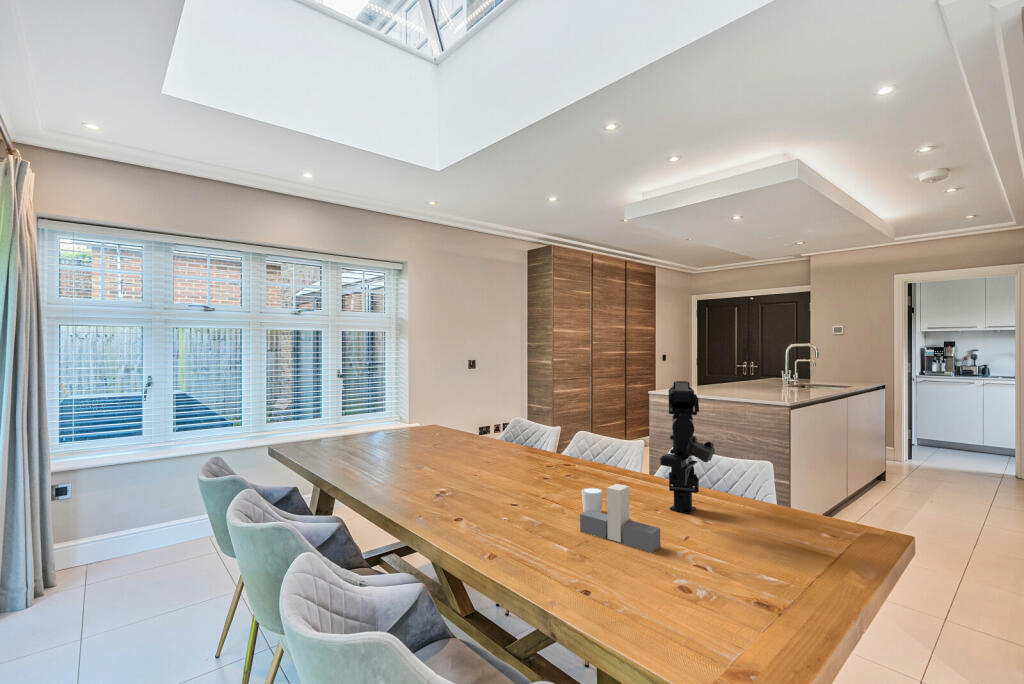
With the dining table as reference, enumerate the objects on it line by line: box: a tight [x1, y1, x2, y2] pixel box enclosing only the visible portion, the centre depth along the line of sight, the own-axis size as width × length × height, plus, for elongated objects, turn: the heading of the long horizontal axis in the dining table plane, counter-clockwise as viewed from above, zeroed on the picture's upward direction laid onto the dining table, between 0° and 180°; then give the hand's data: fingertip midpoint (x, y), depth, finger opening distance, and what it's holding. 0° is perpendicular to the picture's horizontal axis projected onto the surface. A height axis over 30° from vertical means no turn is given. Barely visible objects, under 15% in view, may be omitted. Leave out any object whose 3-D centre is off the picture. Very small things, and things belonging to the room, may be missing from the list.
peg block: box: [606, 483, 630, 544], centre depth 132 cm, size 5×4×14 cm
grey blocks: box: [579, 510, 662, 554], centre depth 132 cm, size 5×22×5 cm, turn 48°
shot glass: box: [581, 487, 604, 513], centre depth 154 cm, size 7×7×7 cm
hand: (683, 485), depth 141 cm, fingers closed
